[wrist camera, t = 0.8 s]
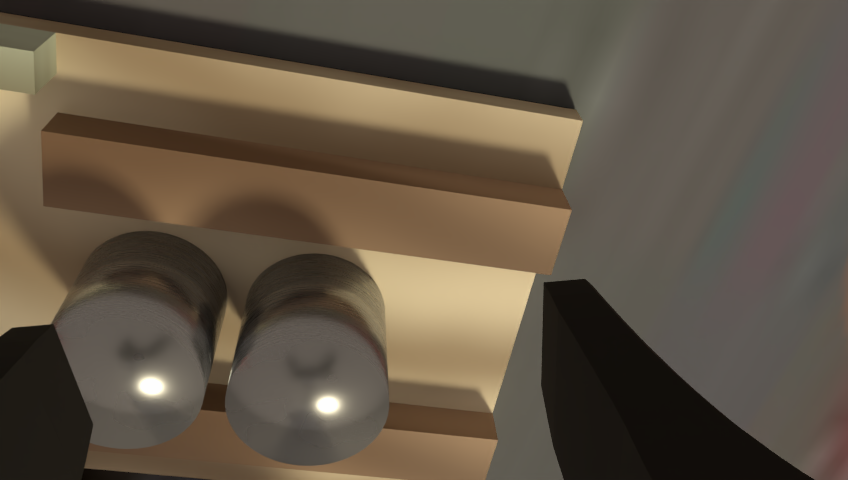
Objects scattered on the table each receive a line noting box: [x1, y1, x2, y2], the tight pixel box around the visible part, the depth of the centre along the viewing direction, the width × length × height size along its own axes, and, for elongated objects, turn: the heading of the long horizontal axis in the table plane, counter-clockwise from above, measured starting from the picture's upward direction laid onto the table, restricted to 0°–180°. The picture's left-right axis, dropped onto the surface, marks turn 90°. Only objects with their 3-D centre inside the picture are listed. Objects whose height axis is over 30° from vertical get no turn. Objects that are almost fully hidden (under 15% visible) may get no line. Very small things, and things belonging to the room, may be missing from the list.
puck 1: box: [51, 231, 228, 449], centre depth 21 cm, size 4×4×4 cm
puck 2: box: [225, 253, 389, 466], centre depth 22 cm, size 4×4×4 cm
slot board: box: [0, 12, 583, 480], centre depth 22 cm, size 14×27×2 cm, turn 79°
